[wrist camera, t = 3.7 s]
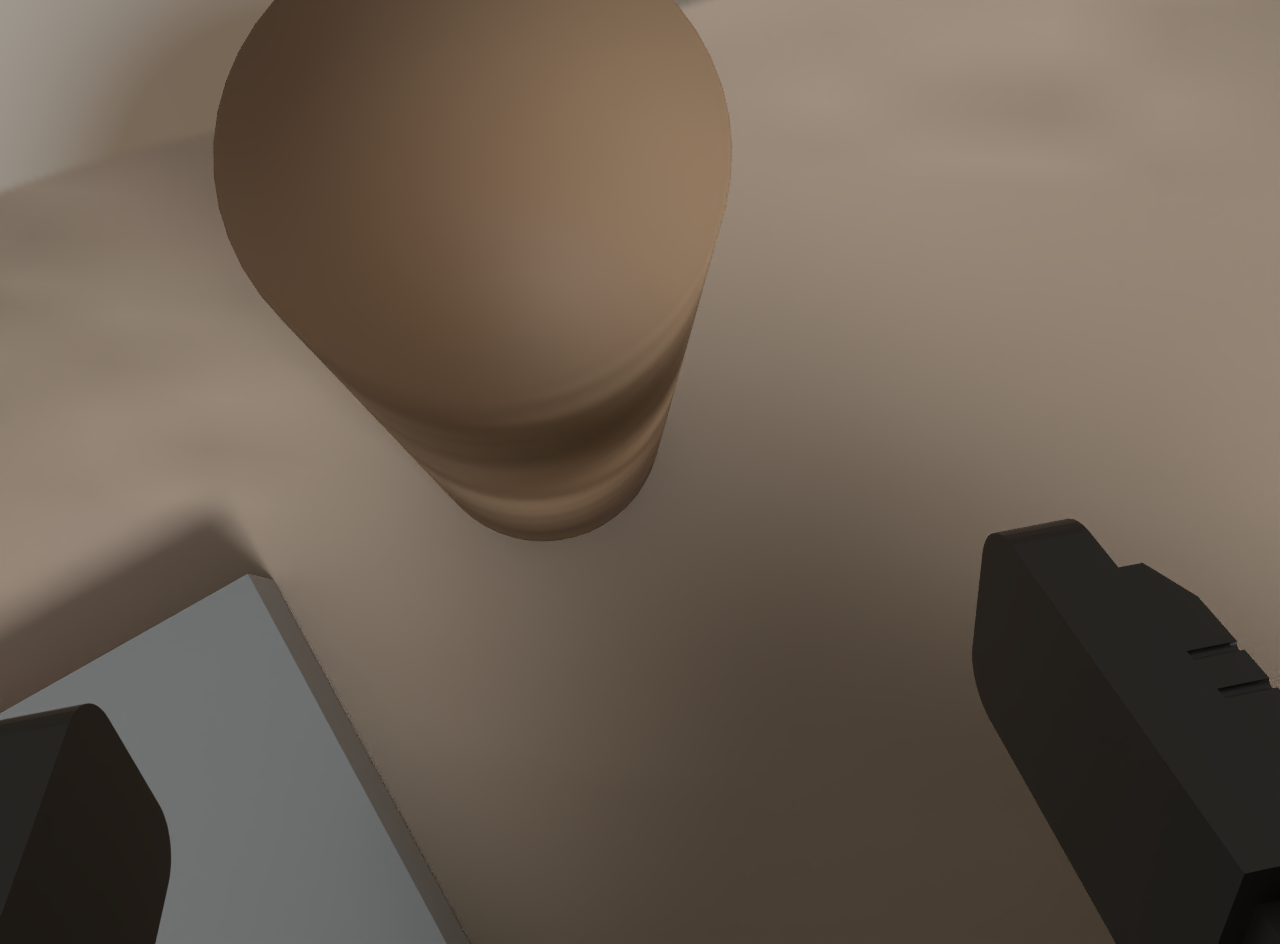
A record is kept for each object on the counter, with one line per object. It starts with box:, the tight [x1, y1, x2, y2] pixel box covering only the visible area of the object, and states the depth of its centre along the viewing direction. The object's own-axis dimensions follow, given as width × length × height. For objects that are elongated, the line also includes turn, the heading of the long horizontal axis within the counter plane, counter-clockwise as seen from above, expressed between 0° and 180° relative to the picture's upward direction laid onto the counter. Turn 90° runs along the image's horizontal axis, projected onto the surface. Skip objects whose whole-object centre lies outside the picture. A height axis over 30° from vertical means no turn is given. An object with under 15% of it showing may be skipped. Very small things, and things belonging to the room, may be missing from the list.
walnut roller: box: [214, 0, 732, 541], centre depth 16 cm, size 5×5×12 cm
